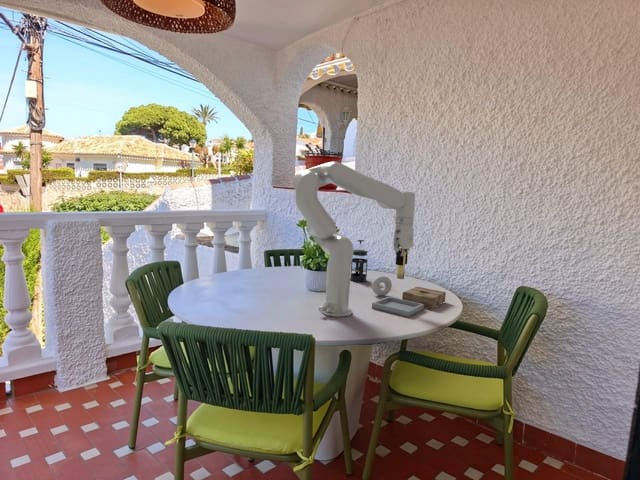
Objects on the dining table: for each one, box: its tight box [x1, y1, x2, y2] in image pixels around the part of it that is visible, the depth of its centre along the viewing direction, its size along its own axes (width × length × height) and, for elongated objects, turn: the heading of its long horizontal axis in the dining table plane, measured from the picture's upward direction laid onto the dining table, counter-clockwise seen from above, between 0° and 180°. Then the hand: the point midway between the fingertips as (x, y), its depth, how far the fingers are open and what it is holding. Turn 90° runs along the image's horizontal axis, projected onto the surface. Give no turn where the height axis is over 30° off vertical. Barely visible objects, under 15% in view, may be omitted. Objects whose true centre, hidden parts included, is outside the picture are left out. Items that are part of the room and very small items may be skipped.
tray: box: [371, 296, 425, 319], centre depth 166 cm, size 15×17×2 cm
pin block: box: [401, 286, 447, 310], centre depth 177 cm, size 16×14×5 cm
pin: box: [396, 250, 406, 280], centre depth 163 cm, size 3×3×12 cm
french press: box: [350, 239, 369, 283], centre depth 215 cm, size 12×9×23 cm
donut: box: [371, 275, 393, 297], centre depth 186 cm, size 10×4×10 cm, turn 99°
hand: (401, 264), depth 163 cm, fingers closed on pin, 3 cm apart
